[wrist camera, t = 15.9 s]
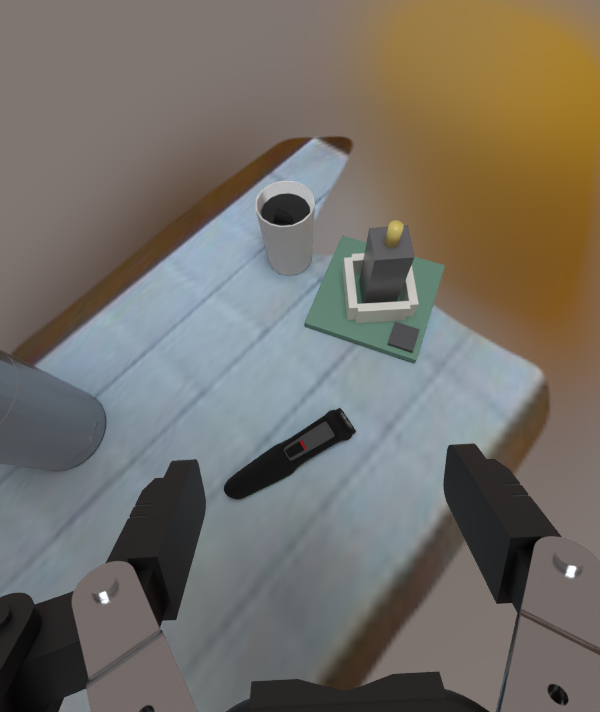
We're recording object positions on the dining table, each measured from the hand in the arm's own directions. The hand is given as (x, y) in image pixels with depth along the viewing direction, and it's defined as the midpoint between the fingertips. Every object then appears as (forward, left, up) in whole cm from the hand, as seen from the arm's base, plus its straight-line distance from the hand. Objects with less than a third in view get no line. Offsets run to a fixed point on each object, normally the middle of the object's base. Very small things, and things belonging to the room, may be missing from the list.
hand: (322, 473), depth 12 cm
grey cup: (-14, +27, -31) cm, 43 cm away
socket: (-2, +25, -29) cm, 39 cm away
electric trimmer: (-4, +3, -31) cm, 31 cm away
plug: (-1, +25, -29) cm, 39 cm away
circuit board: (-2, +25, -30) cm, 39 cm away
